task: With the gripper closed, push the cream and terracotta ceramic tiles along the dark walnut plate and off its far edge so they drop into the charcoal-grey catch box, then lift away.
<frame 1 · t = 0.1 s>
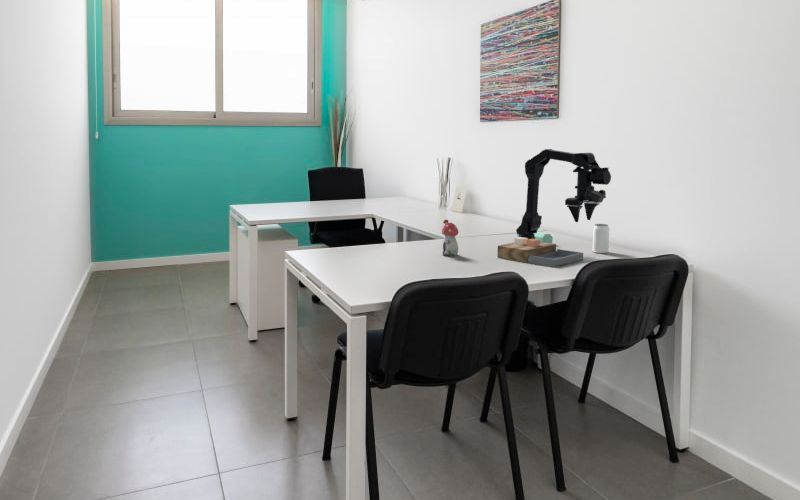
hand: (582, 221, 254), 15 cm above the table, tool pointing down, fingers open, 9 cm apart
container: (533, 241, 294), on the table
can: (600, 252, 263), on the table
catch box: (555, 261, 246), on the table
terracotta tile: (533, 245, 253), point 5 cm above the table, touching walnut plate
decorative ornament: (449, 255, 262), on the table
walnut plate: (526, 256, 256), on the table
cream tile: (521, 244, 257), point 5 cm above the table, touching walnut plate
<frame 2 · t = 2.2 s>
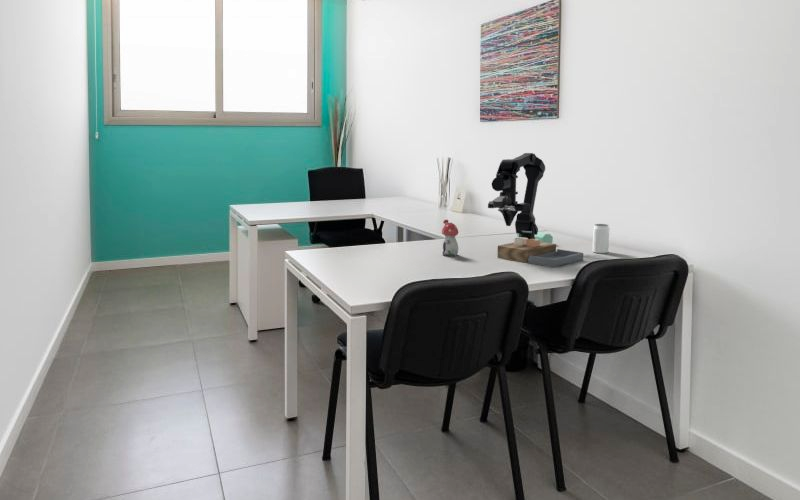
hand: (508, 225, 261), 12 cm above the table, tool pointing down, fingers closed
nothing on the table moved.
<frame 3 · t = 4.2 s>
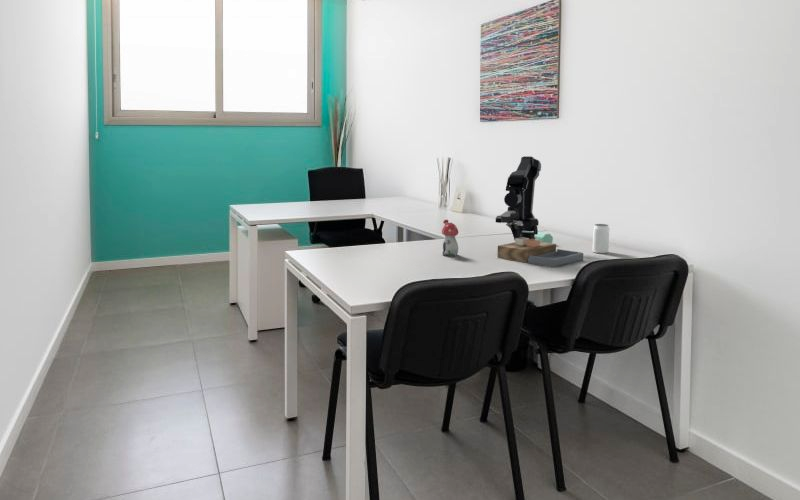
hand: (516, 240, 259), 6 cm above the table, tool pointing down, fingers closed
cream tile: (521, 244, 257), point 5 cm above the table, touching gripper, walnut plate
everything else where it was.
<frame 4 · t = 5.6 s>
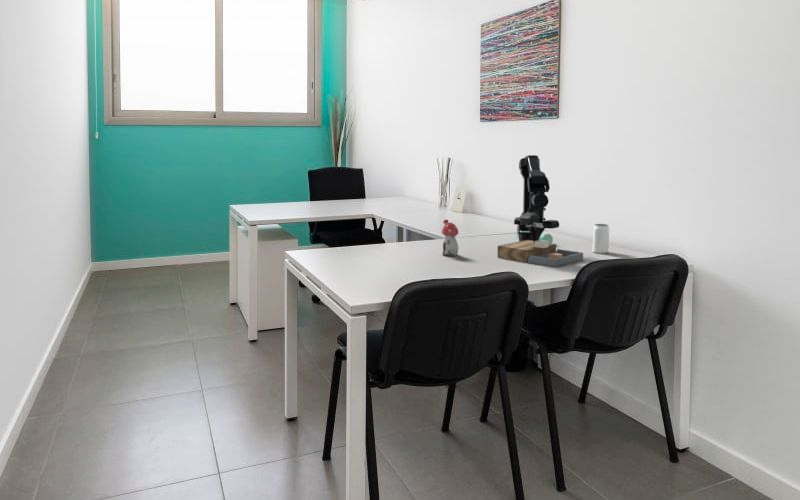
hand: (535, 243, 251), 6 cm above the table, tool pointing down, fingers closed
terracotta tile: (555, 254, 245), point 3 cm above the table, tilted 180°, touching catch box
cream tile: (541, 246, 250), point 5 cm above the table, touching gripper, walnut plate
everything else where it was.
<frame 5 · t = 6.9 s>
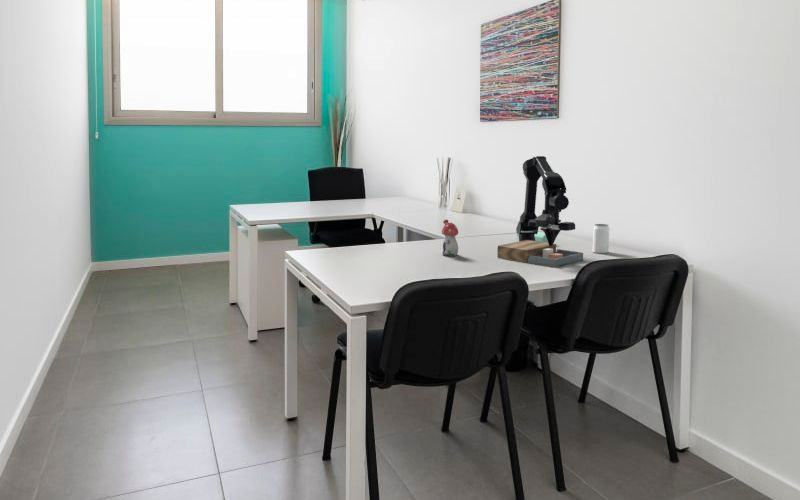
hand: (550, 245, 246), 6 cm above the table, tool pointing down, fingers closed
cream tile: (545, 253, 249), point 2 cm above the table, tilted 90°, touching catch box
everything else where it was.
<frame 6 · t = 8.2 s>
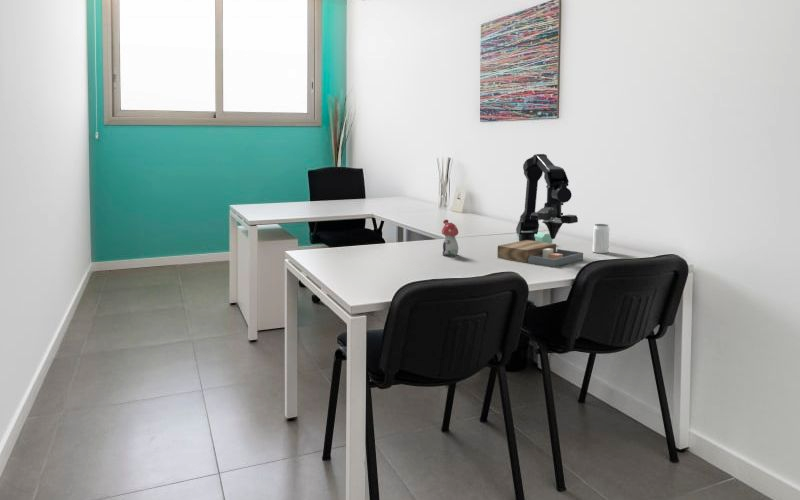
hand: (552, 238, 245), 9 cm above the table, tool pointing down, fingers closed
nothing on the table moved.
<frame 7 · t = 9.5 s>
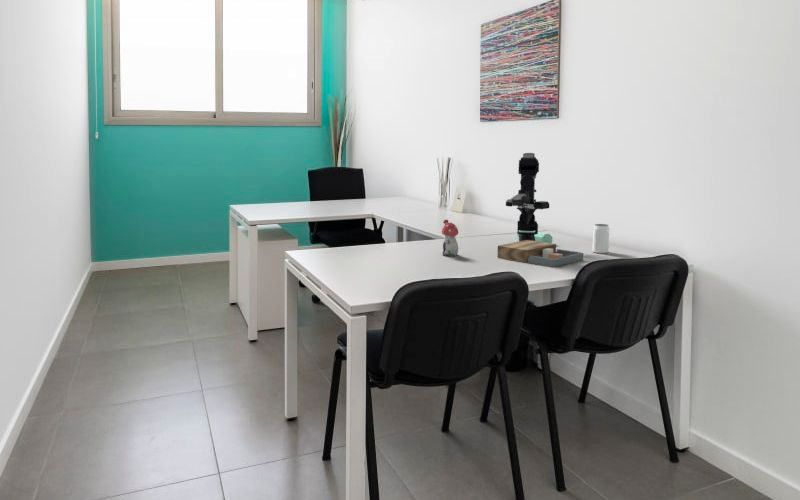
hand: (526, 224, 259), 13 cm above the table, tool pointing down, fingers closed
nothing on the table moved.
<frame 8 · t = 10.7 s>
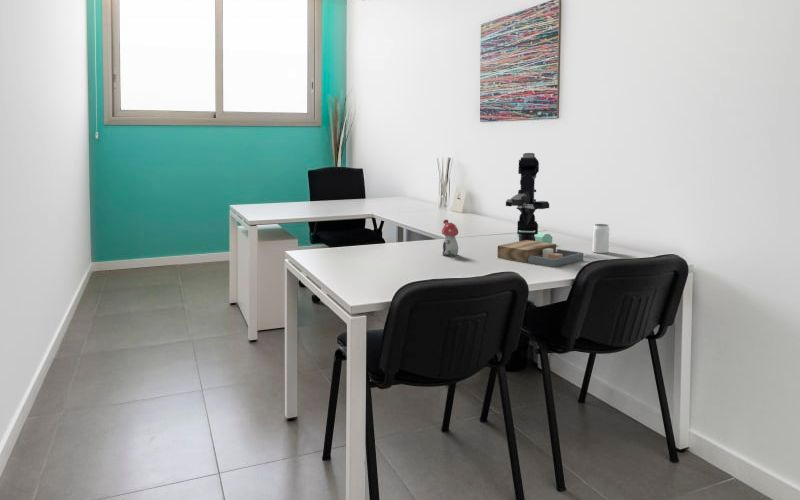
hand: (526, 224, 259), 13 cm above the table, tool pointing down, fingers closed
nothing on the table moved.
at the end: cream tile inside the target area on the catch box (5.2 cm from its centre), point 2.4 cm above the catch box's base; terracotta tile inside the target area on the catch box (0.1 cm from its centre), point 2.9 cm above the catch box's base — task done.
